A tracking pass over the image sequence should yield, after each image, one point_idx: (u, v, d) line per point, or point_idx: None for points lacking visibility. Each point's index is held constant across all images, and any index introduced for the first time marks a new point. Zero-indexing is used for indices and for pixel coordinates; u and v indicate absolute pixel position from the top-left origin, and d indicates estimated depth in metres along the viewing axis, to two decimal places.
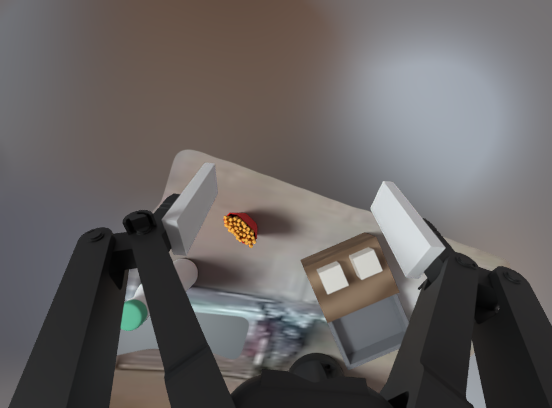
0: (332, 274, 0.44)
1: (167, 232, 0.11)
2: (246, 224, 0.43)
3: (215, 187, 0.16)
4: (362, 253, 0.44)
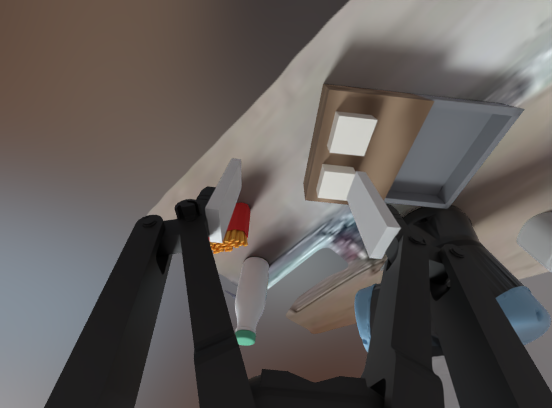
0: (329, 185, 0.32)
1: (208, 220, 0.12)
2: None
3: (240, 182, 0.17)
4: (333, 133, 0.28)
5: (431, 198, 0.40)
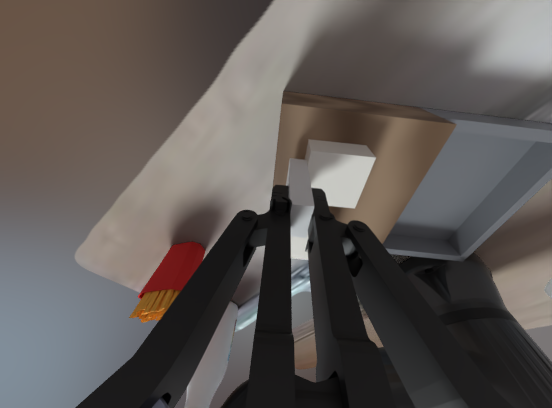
0: (294, 242, 0.22)
1: (290, 215, 0.12)
2: (158, 291, 0.29)
3: None
4: None
5: (440, 246, 0.29)
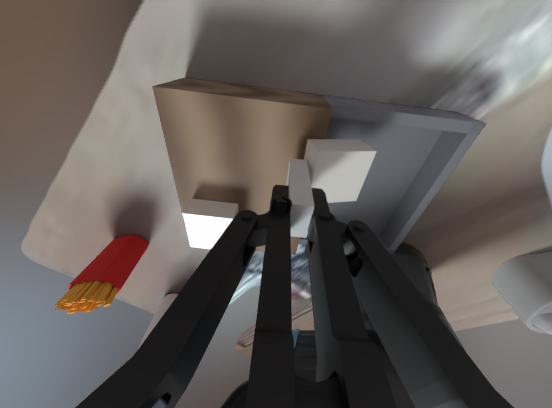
0: (199, 231, 0.21)
1: (290, 215, 0.12)
2: (86, 283, 0.28)
3: None
4: (309, 175, 0.17)
5: None
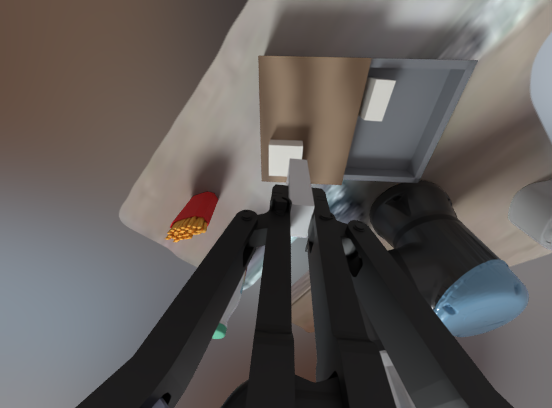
0: (277, 160, 0.31)
1: (290, 215, 0.12)
2: (185, 219, 0.39)
3: None
4: (384, 101, 0.27)
5: (399, 173, 0.37)
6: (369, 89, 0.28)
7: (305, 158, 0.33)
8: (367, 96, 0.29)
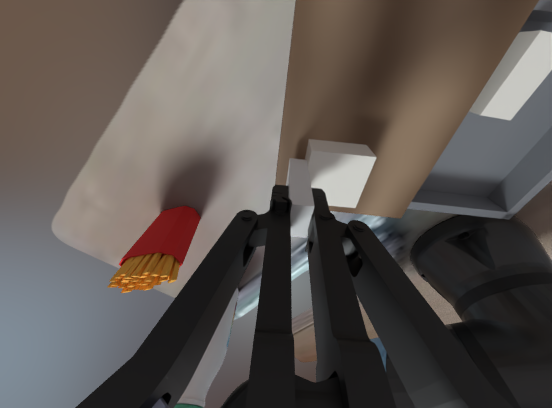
0: (322, 178, 0.17)
1: (290, 215, 0.12)
2: (143, 256, 0.24)
3: None
4: (533, 80, 0.14)
5: (481, 202, 0.25)
6: None
7: None
8: None
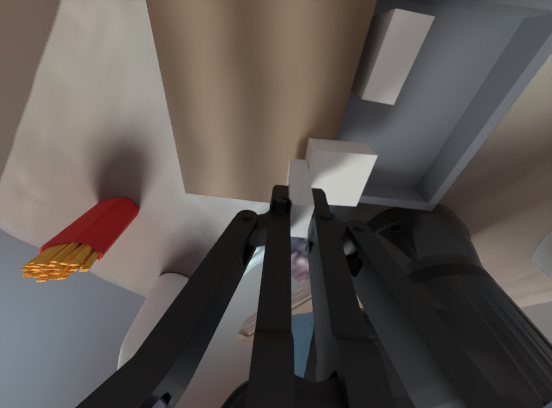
0: (324, 178, 0.17)
1: (290, 215, 0.12)
2: (59, 245, 0.23)
3: None
4: (404, 62, 0.14)
5: (405, 193, 0.24)
6: (377, 37, 0.14)
7: (255, 160, 0.19)
8: (370, 53, 0.15)
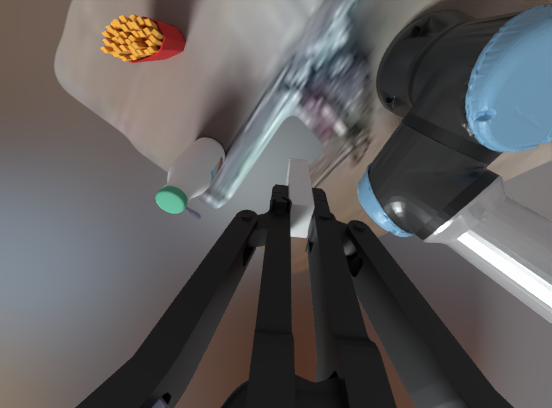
0: None
1: (290, 215, 0.12)
2: None
3: None
4: None
5: None
6: None
7: None
8: None
